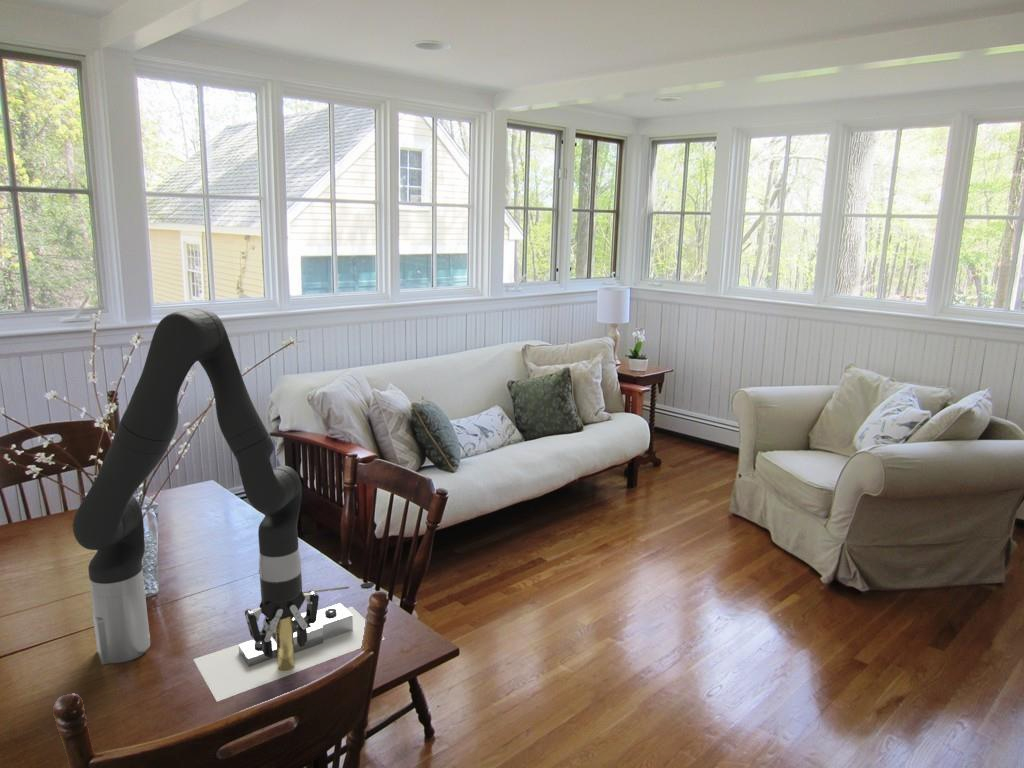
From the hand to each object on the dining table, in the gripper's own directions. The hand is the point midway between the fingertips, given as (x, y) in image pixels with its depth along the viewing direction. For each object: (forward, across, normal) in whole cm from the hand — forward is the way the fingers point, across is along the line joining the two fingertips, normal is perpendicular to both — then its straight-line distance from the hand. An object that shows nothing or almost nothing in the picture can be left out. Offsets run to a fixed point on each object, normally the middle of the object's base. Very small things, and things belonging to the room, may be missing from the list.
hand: (285, 649), depth 141 cm
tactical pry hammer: (+5, +18, +22) cm, 29 cm away
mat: (+4, +3, +5) cm, 7 cm away
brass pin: (+4, 0, 0) cm, 4 cm away
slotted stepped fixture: (+4, +5, +7) cm, 9 cm away
